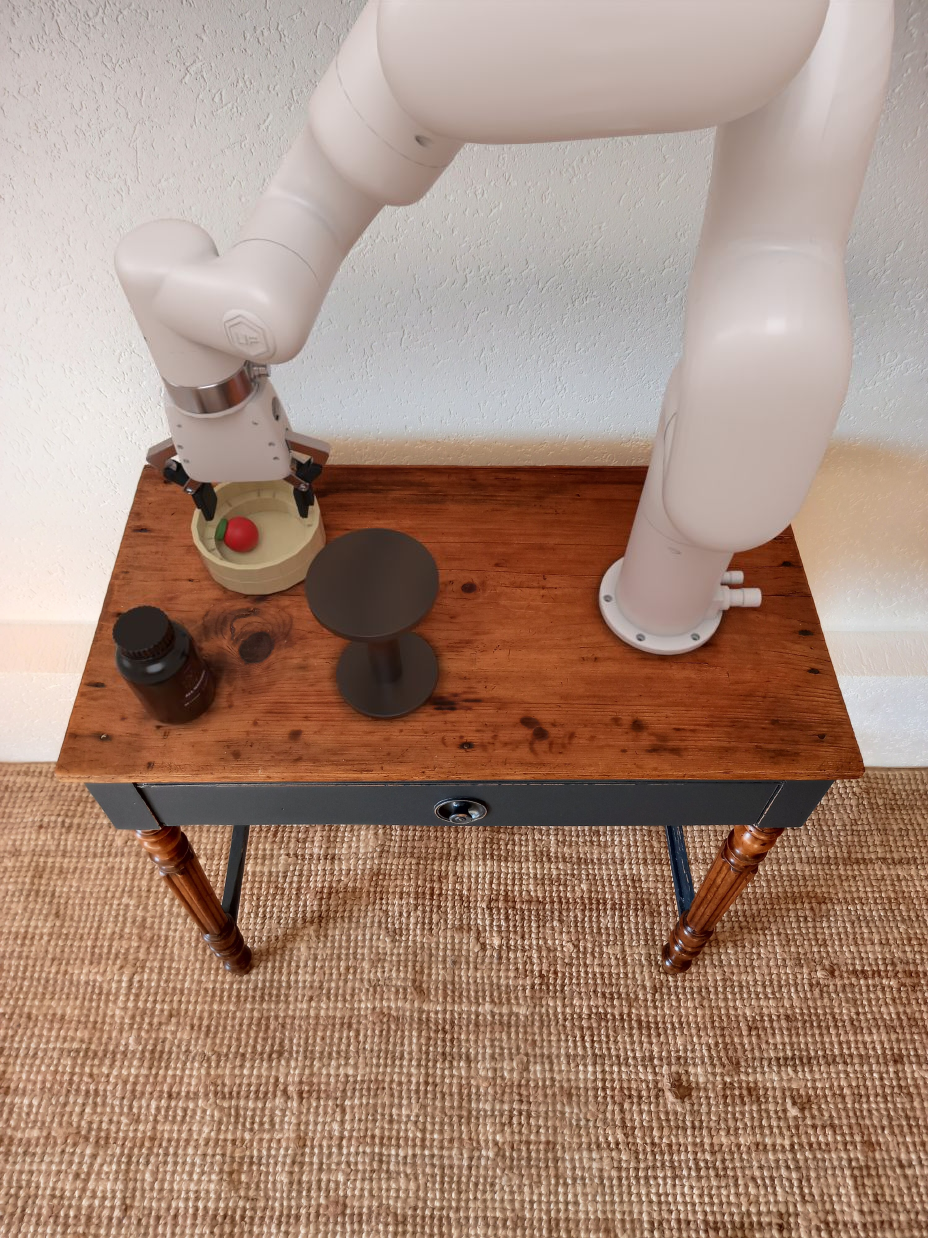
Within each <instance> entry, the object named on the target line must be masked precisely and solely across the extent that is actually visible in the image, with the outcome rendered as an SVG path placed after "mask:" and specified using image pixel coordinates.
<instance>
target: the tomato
mask: <svg viewBox="0 0 928 1238" xmlns="http://www.w3.org/2000/svg"><path fill="white" fill-rule="evenodd" d="M258 538H259V532H258V529H257V526H256V525H255V524H254V522H252V521H251V520H250V519H248V518H245V517H234V518H232V519H230V520H228V521H227V519H224V518H221V520H220V522H219V526H218V529H217V534H216V540H219V541H222V540H223V541H224V543H225V545H226V546H227V547H228V548H229V549H231V550H233V551H235V552H246V551H249V550H251V549H252V548H253V547H254V546H255V545H256V543H257V541H258Z"/></svg>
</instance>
